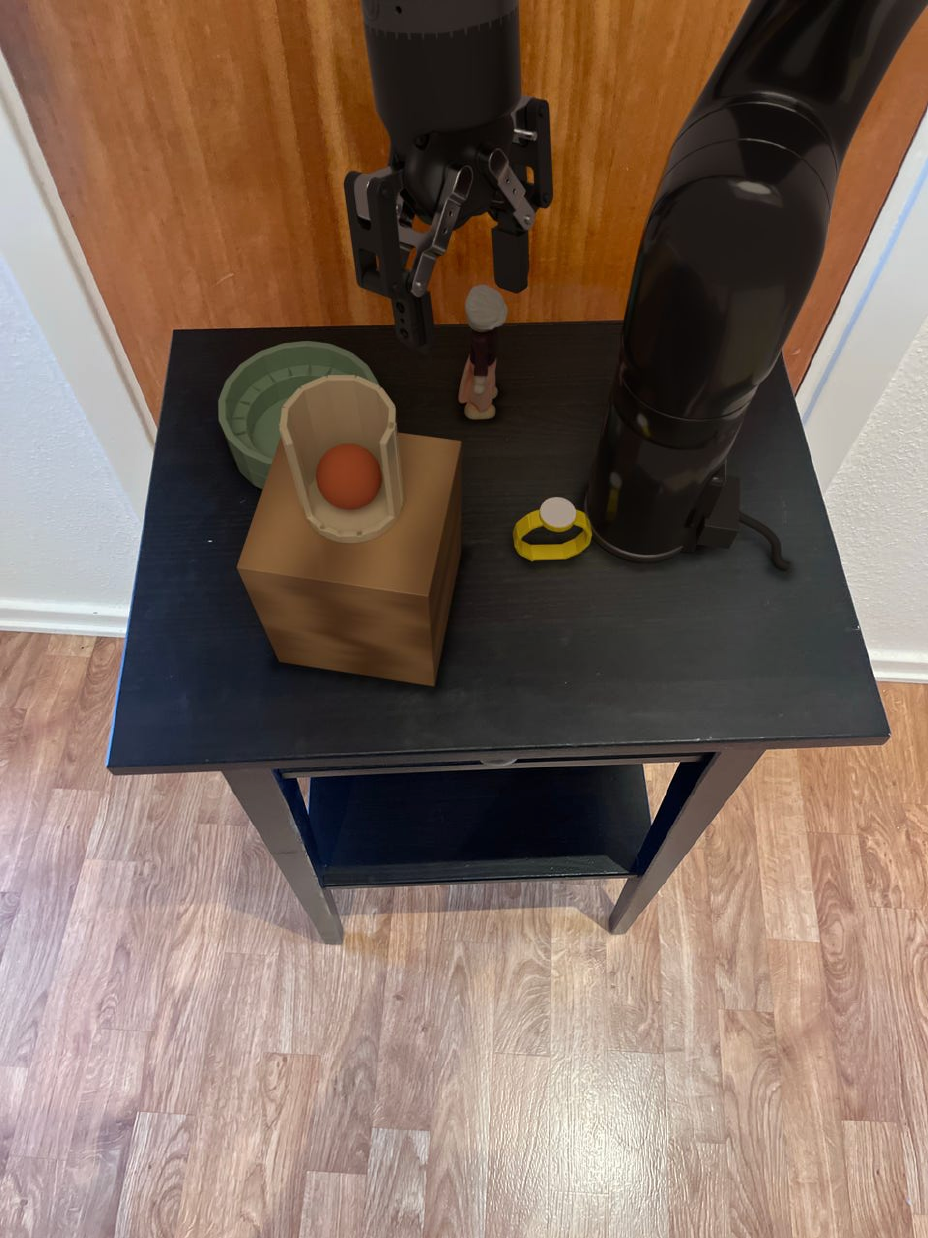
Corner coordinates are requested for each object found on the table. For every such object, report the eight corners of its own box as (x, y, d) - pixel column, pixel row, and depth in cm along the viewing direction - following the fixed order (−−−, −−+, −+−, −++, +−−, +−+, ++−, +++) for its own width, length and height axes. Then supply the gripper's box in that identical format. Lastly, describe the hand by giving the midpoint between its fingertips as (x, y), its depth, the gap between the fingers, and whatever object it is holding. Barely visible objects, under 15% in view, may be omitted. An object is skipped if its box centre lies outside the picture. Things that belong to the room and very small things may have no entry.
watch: (513, 571, 69) (518, 530, 64) (510, 541, 70) (514, 499, 65) (587, 565, 69) (598, 524, 64) (582, 536, 70) (592, 494, 65)
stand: (461, 551, 70) (461, 440, 57) (434, 686, 64) (428, 596, 52) (317, 530, 71) (286, 416, 58) (278, 662, 65) (236, 567, 53)
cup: (405, 461, 56) (398, 374, 49) (403, 544, 54) (394, 465, 46) (306, 461, 56) (284, 374, 49) (298, 544, 53) (273, 465, 46)
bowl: (398, 392, 77) (394, 351, 73) (366, 512, 71) (360, 476, 67) (256, 373, 78) (244, 332, 74) (213, 490, 72) (197, 453, 68)
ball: (390, 475, 55) (385, 434, 52) (376, 526, 53) (370, 487, 50) (329, 466, 56) (320, 425, 52) (314, 517, 54) (303, 478, 50)
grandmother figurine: (456, 373, 78) (456, 257, 67) (498, 372, 79) (505, 256, 67) (460, 440, 75) (460, 330, 64) (504, 438, 75) (511, 328, 64)
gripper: (390, 55, 36) (433, 391, 48) (592, -30, 42) (586, 284, 54) (275, 34, 39) (342, 351, 51) (477, -41, 46) (495, 256, 58)
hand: (467, 317), depth 53 cm, fingers open, 8 cm apart
